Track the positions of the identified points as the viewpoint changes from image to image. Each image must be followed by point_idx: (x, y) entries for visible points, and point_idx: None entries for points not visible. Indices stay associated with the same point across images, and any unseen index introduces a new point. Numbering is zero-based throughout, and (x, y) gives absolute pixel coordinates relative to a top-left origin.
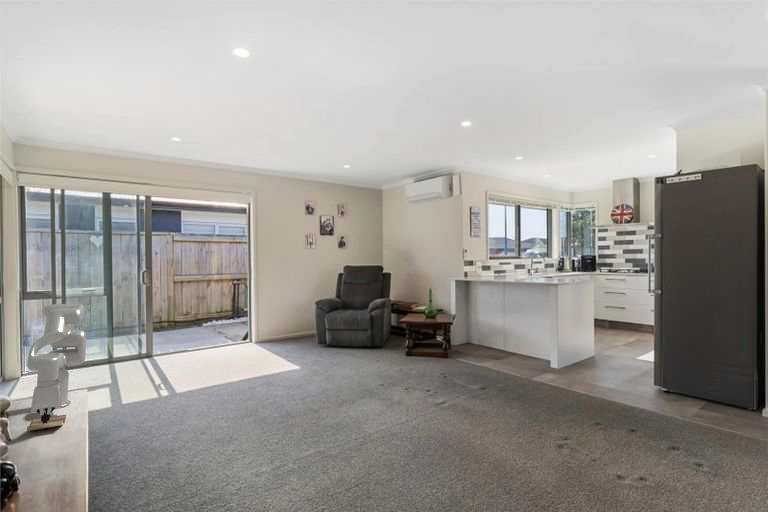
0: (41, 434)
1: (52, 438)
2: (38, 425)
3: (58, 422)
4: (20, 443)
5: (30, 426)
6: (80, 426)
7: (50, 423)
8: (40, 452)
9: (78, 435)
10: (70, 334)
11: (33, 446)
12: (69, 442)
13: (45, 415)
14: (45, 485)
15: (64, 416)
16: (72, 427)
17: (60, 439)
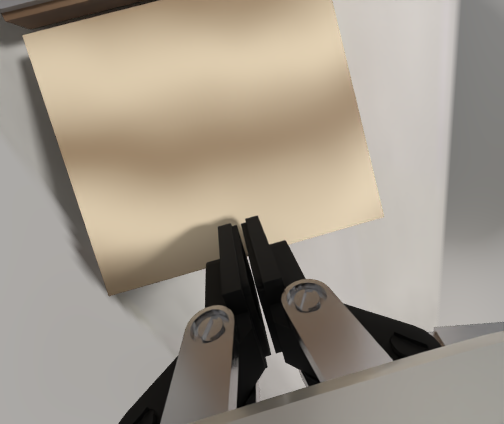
0: None
1: (300, 254)
2: (198, 267)
3: (352, 224)
4: (145, 289)
5: (136, 286)
6: (441, 63)
7: (291, 240)
8: (296, 382)
9: (425, 241)
10: None
11: None
12: (389, 314)
13: (253, 296)
14: None
15: None
16: (387, 68)
17: (345, 275)
